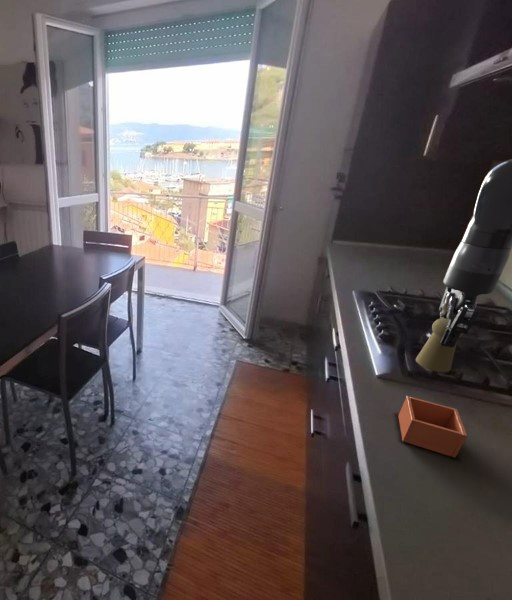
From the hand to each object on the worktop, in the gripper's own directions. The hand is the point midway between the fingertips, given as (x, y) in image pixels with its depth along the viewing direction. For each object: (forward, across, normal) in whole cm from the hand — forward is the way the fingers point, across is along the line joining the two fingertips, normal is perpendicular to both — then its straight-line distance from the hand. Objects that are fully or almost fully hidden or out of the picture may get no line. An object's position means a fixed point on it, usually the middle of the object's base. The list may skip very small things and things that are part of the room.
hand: (443, 339), depth 77 cm
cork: (+7, 0, 0) cm, 7 cm away
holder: (+19, -10, -1) cm, 21 cm away
